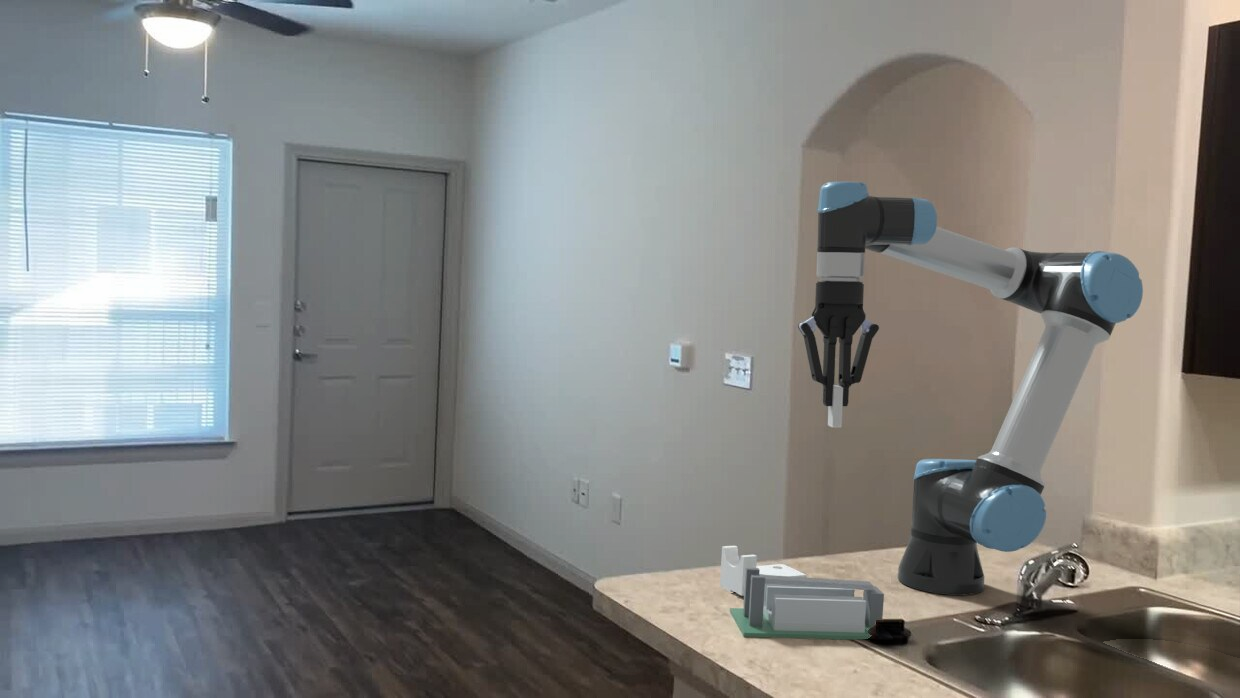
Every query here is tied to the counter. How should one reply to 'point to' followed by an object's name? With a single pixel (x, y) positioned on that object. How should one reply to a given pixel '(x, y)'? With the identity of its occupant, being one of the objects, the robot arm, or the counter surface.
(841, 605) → the heatsink board
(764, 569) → the bracket
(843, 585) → the strap
